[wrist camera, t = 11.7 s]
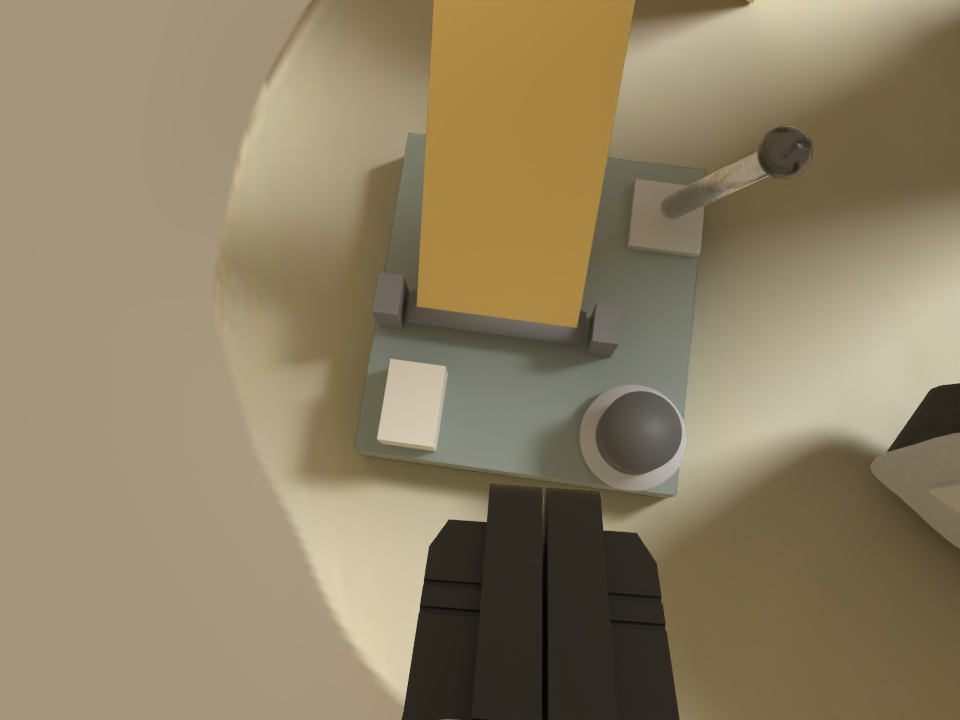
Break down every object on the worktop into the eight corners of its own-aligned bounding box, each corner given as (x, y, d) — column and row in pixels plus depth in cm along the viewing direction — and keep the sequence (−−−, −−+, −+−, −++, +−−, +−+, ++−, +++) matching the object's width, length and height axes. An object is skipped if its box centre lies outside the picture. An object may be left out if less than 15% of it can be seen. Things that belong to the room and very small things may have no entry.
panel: (412, 153, 39) (402, 103, 35) (697, 189, 39) (724, 143, 34) (360, 457, 36) (342, 445, 32) (668, 501, 36) (693, 494, 31)
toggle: (649, 184, 35) (785, 109, 28) (684, 196, 36) (826, 126, 29) (645, 225, 35) (781, 159, 28) (681, 236, 36) (823, 175, 29)
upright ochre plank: (413, 312, 36) (434, -81, 28) (580, 334, 35) (651, -56, 27) (407, 329, 35) (428, -76, 26) (580, 352, 34) (654, -50, 26)
